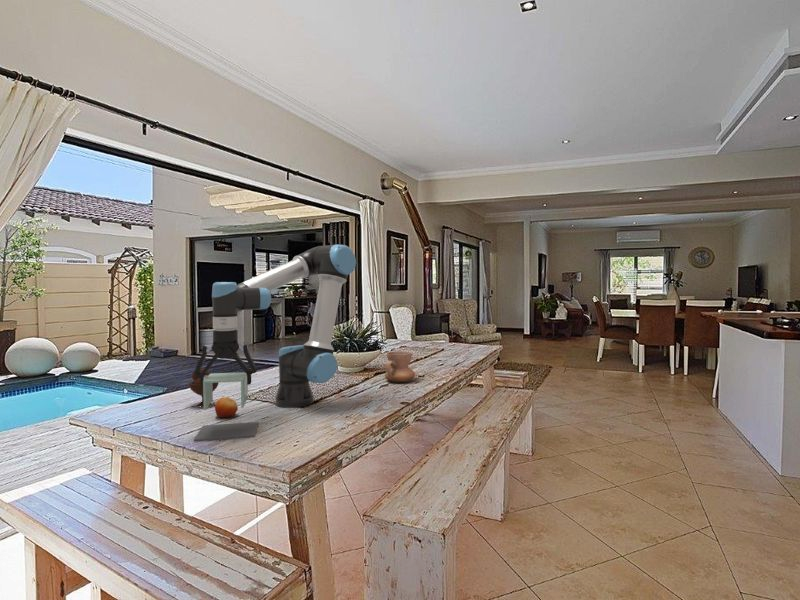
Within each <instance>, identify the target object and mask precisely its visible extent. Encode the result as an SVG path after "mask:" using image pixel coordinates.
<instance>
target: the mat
mask: <svg viewBox="0 0 800 600" xmlns="http://www.w3.org/2000/svg"><path fill="white" fill-rule="evenodd" d="M258 425H259V421H253V422H252V421H251V422H236V423H235V422H234V423H222V424H221V423H220V424H205V425H202V426H201V427H200V429H199V431H198V432H197V433H196V435H195V437H194V438H193V442H203V441H204V440H207V441H217V440H218V441H219V440H228V439H229V440H230V439H231V440H232V439H245V438H255V436H256V433H257V429H258Z"/></svg>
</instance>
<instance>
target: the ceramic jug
mask: <svg viewBox="0 0 800 600" xmlns="http://www.w3.org/2000/svg"><path fill="white" fill-rule="evenodd" d="M412 356H413V352H412V351H410V350H393V351H389V352H386V358H387V362H386V364H385V369H386V371H385V373H384V378H385V380H387V381H389V382H391V383H395V384H396V383H399V384H404V383H409V382H410V381H412V380H413V379H414V378H415V375H416V373H415V371H414V370H413V369H412V368H410V367H409V365H410V363H411V360H412V358H413V357H412Z"/></svg>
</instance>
